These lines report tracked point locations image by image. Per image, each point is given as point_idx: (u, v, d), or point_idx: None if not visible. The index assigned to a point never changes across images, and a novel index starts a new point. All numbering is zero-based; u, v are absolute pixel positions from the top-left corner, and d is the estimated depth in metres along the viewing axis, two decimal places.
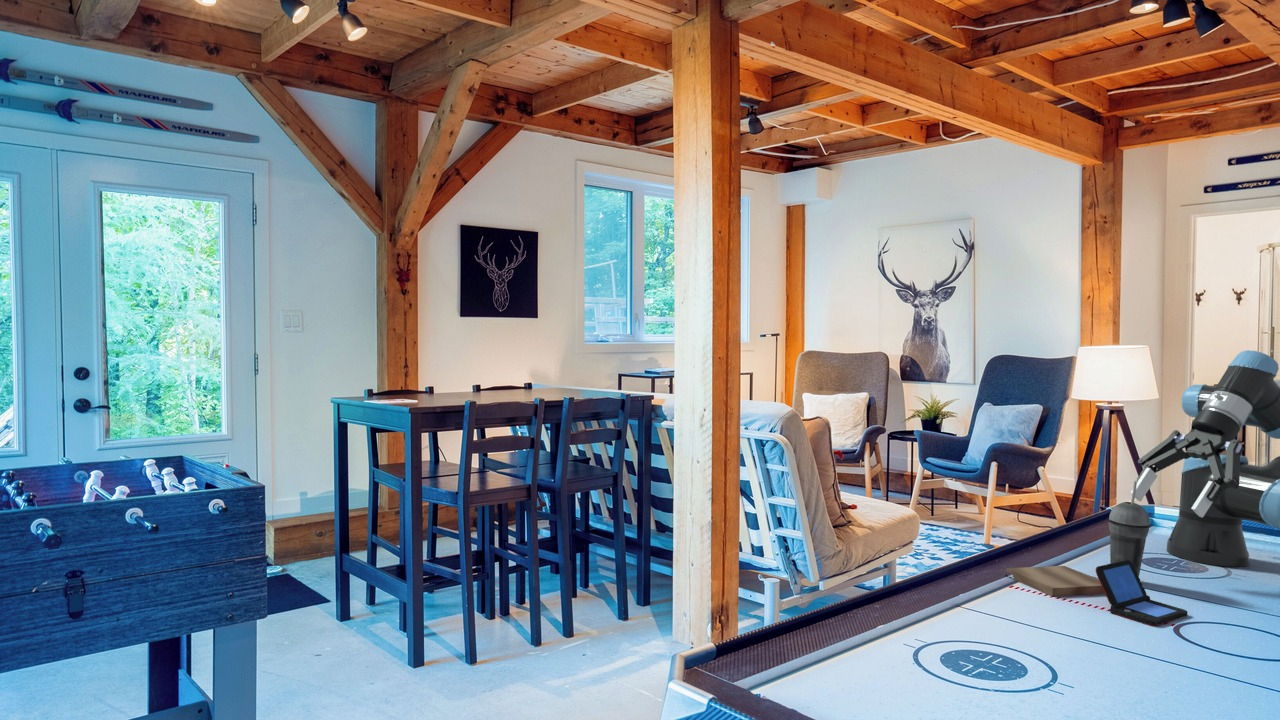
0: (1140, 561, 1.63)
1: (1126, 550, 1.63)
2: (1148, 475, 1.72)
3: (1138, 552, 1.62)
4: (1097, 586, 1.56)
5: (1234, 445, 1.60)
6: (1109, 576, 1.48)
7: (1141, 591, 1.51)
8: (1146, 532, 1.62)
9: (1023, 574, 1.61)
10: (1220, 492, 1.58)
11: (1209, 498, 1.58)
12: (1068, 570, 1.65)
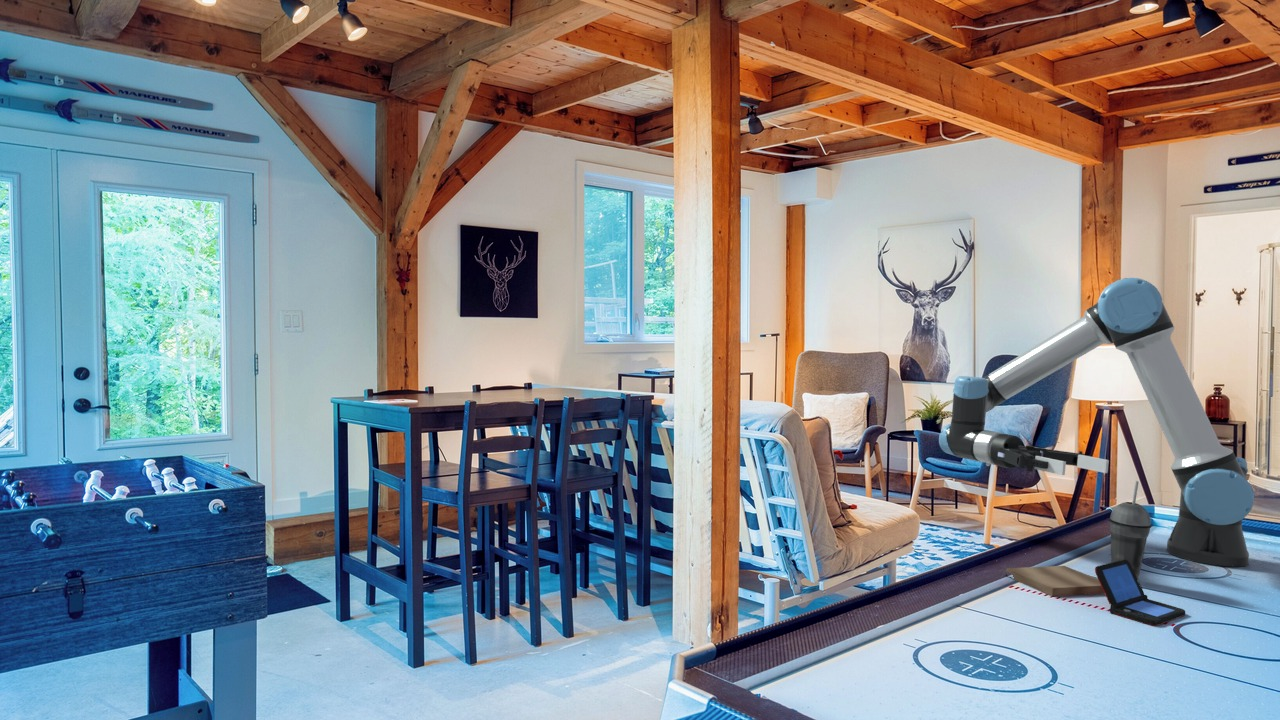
0: (1140, 561, 1.63)
1: (1127, 550, 1.63)
2: (1083, 465, 1.80)
3: (1139, 552, 1.62)
4: (1097, 586, 1.56)
5: (1001, 460, 1.83)
6: (1108, 576, 1.48)
7: (1139, 590, 1.52)
8: (1147, 532, 1.62)
9: (1023, 574, 1.61)
10: (1035, 462, 1.74)
11: (1046, 467, 1.72)
12: (1068, 570, 1.65)
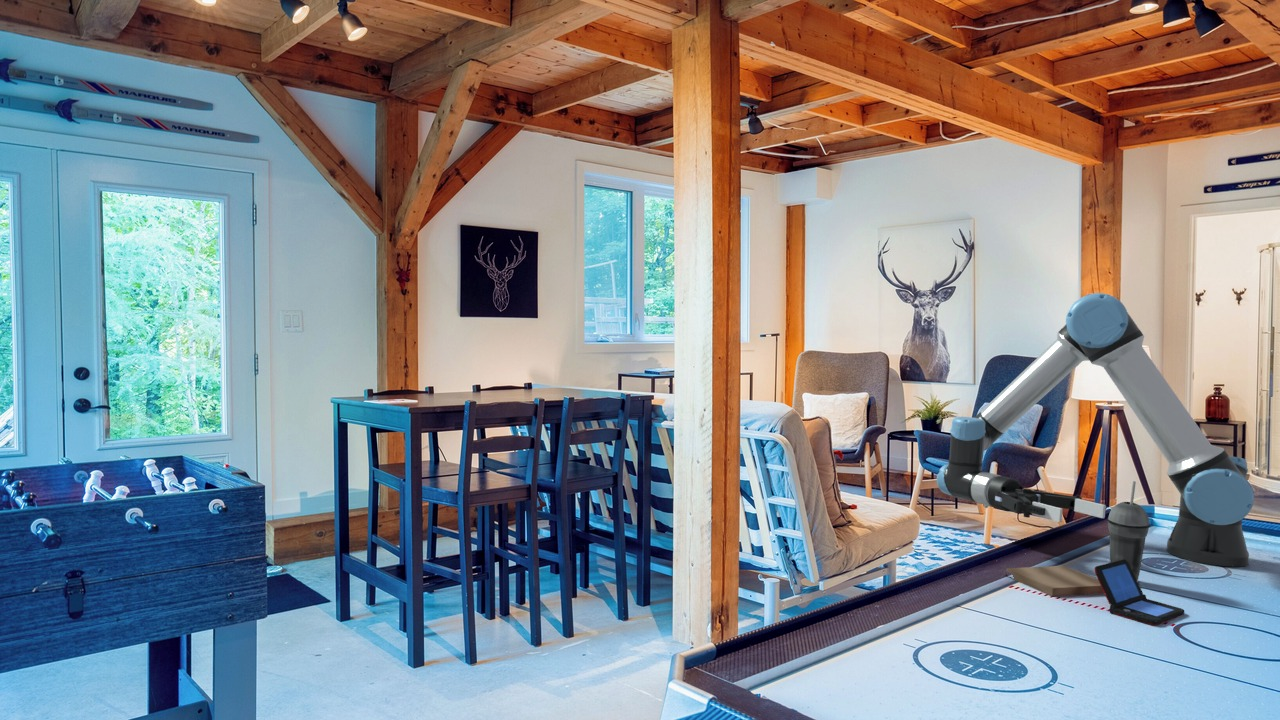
0: (1140, 561, 1.63)
1: (1126, 551, 1.62)
2: (1080, 509, 1.81)
3: (1138, 552, 1.62)
4: (1097, 586, 1.56)
5: (998, 504, 1.84)
6: (1107, 576, 1.48)
7: (1138, 590, 1.52)
8: (1145, 532, 1.61)
9: (1023, 574, 1.61)
10: (1032, 508, 1.74)
11: (1043, 513, 1.73)
12: (1068, 570, 1.65)
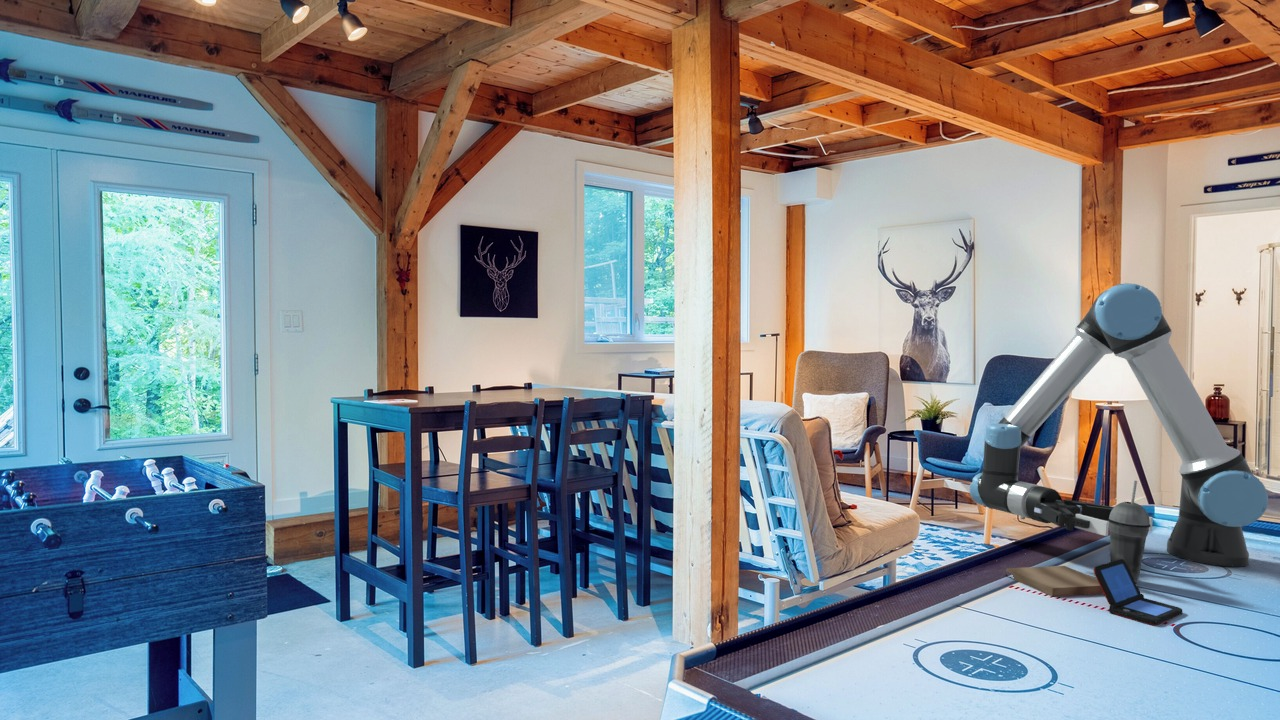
0: (1140, 561, 1.63)
1: (1126, 550, 1.63)
2: None
3: (1138, 552, 1.62)
4: (1097, 586, 1.56)
5: (1038, 516, 1.75)
6: (1106, 576, 1.48)
7: (1135, 590, 1.52)
8: (1146, 532, 1.62)
9: (1023, 574, 1.61)
10: (1076, 520, 1.65)
11: (1087, 526, 1.64)
12: (1068, 570, 1.65)
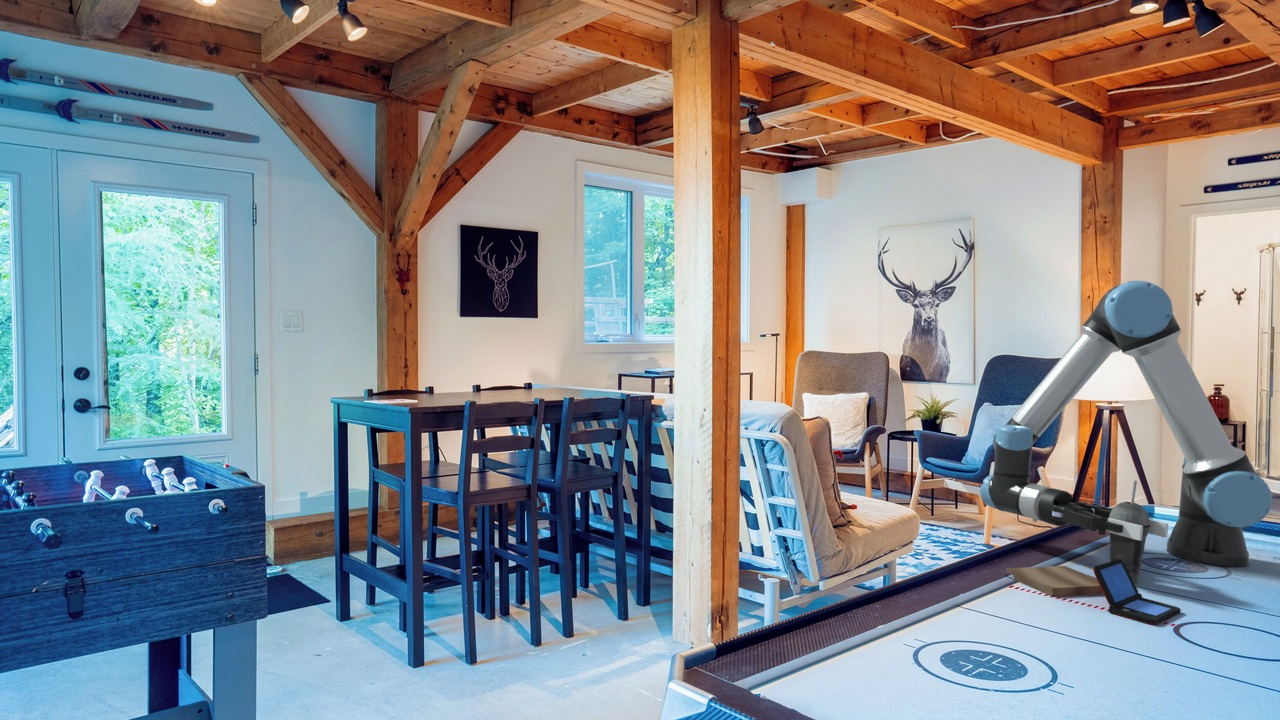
0: (1140, 561, 1.63)
1: (1126, 550, 1.63)
2: None
3: (1138, 552, 1.62)
4: (1097, 586, 1.56)
5: (1057, 520, 1.71)
6: (1106, 575, 1.48)
7: (1133, 589, 1.52)
8: (1146, 532, 1.62)
9: (1023, 574, 1.61)
10: (1108, 525, 1.63)
11: (1120, 530, 1.61)
12: (1068, 570, 1.65)
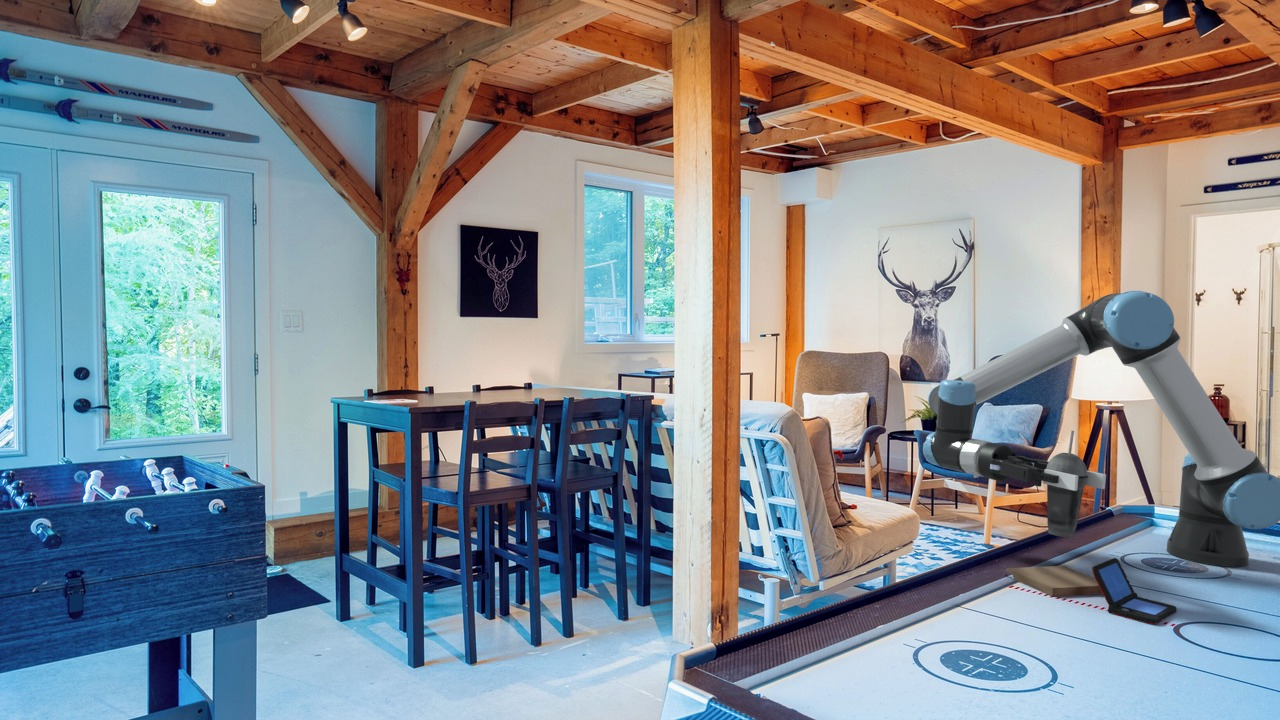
0: (1077, 513, 1.58)
1: (1062, 502, 1.58)
2: None
3: (1074, 503, 1.57)
4: (1097, 586, 1.56)
5: (995, 473, 1.66)
6: (1104, 575, 1.48)
7: (1129, 588, 1.53)
8: (1083, 483, 1.57)
9: (1023, 574, 1.61)
10: (1044, 475, 1.57)
11: (1056, 481, 1.56)
12: (1068, 570, 1.65)
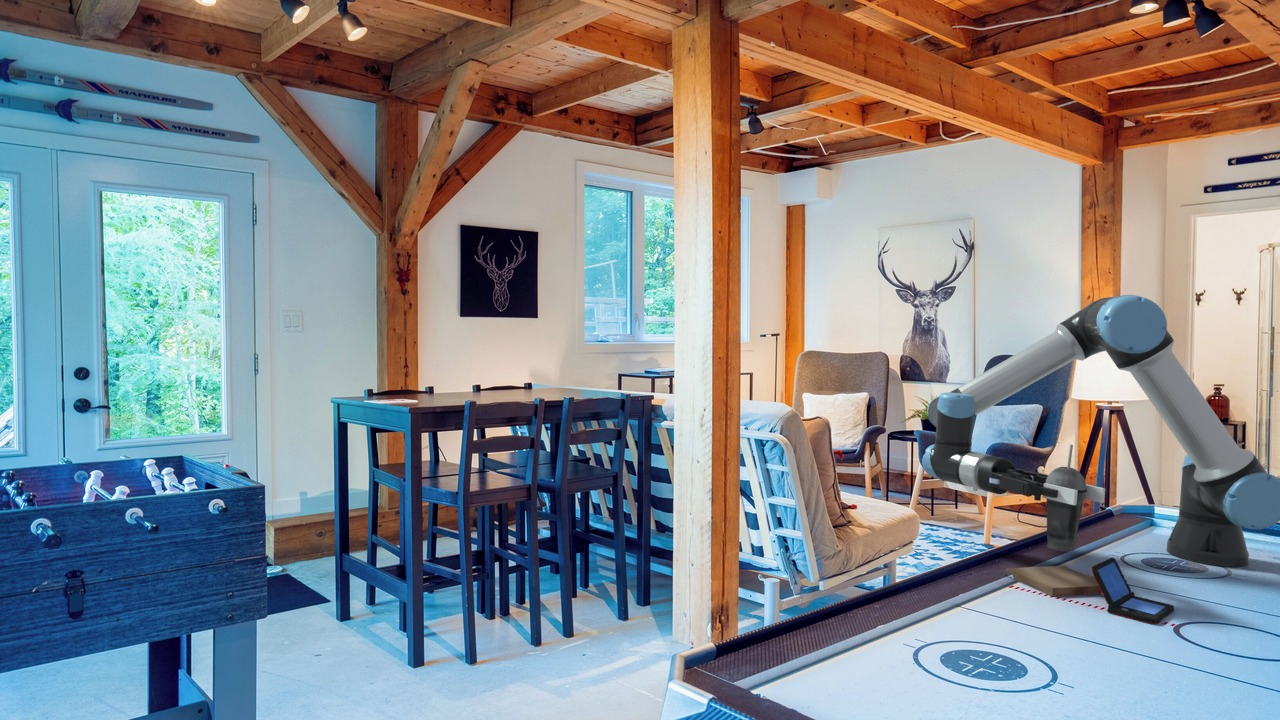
0: (1076, 527, 1.58)
1: (1062, 516, 1.58)
2: None
3: (1074, 518, 1.57)
4: (1097, 586, 1.56)
5: (994, 487, 1.66)
6: (1102, 575, 1.48)
7: (1127, 588, 1.53)
8: (1082, 497, 1.57)
9: (1023, 574, 1.61)
10: (1043, 490, 1.58)
11: (1055, 495, 1.56)
12: (1068, 570, 1.65)
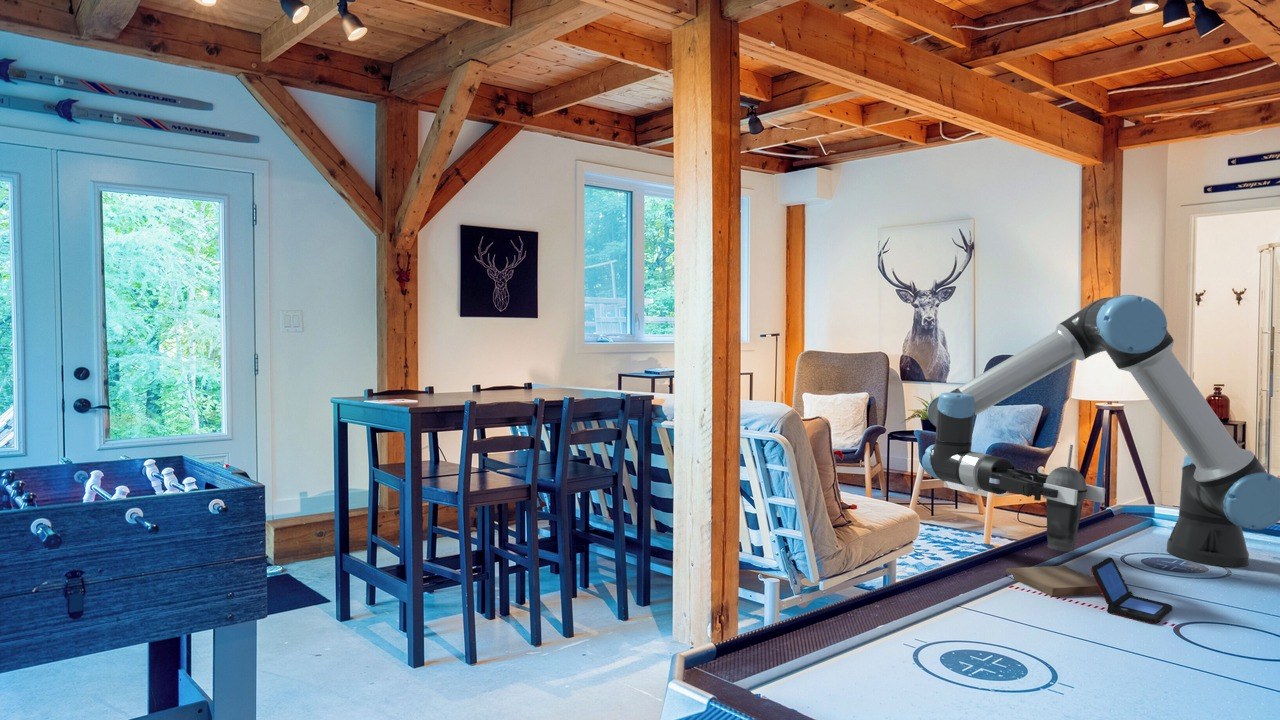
0: (1076, 527, 1.58)
1: (1062, 516, 1.58)
2: None
3: (1074, 518, 1.57)
4: (1097, 586, 1.56)
5: (994, 487, 1.66)
6: (1102, 575, 1.48)
7: (1125, 587, 1.53)
8: (1082, 497, 1.57)
9: (1023, 574, 1.61)
10: (1043, 490, 1.58)
11: (1055, 495, 1.56)
12: (1068, 570, 1.65)
